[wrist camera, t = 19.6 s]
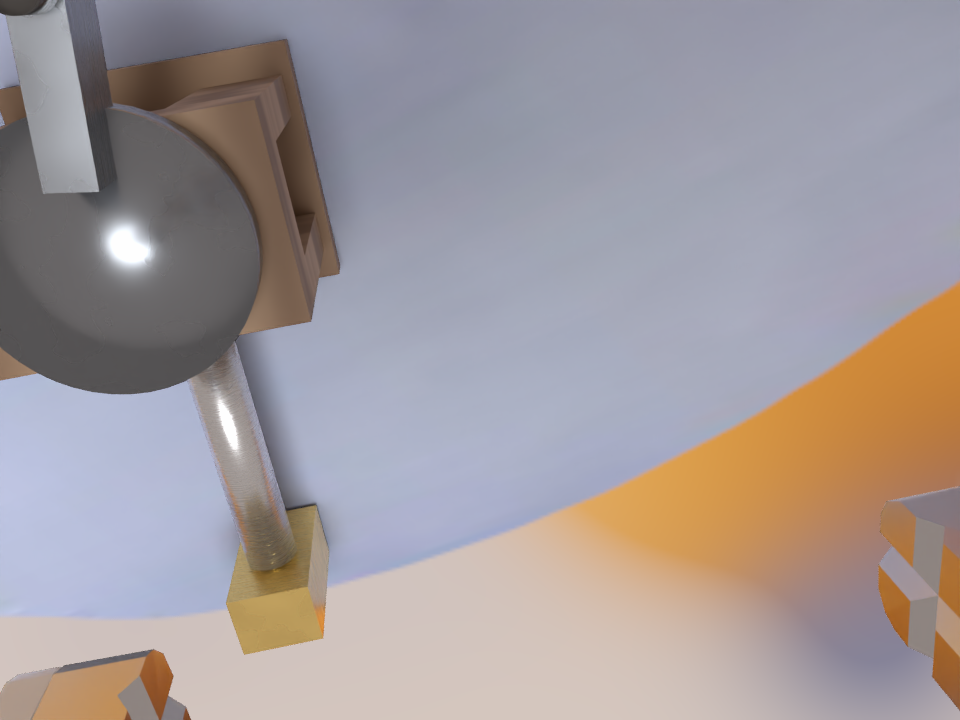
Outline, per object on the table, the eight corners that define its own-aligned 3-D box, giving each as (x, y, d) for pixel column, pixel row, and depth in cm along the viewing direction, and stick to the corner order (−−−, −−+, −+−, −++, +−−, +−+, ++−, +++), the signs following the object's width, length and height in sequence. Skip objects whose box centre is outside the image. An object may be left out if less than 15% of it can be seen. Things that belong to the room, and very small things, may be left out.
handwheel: (276, 371, 36) (260, 433, 31) (0, 385, 35) (-64, 452, 30) (230, -39, 30) (202, -46, 25) (-107, -39, 28) (-210, -46, 23)
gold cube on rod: (247, 261, 46) (225, 310, 39) (329, 552, 54) (323, 638, 47) (167, 276, 46) (129, 328, 39) (260, 565, 54) (244, 654, 47)
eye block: (286, 39, 43) (257, 55, 31) (340, 265, 48) (331, 351, 36) (5, 88, 42) (-131, 122, 31) (88, 313, 47) (-2, 415, 35)
